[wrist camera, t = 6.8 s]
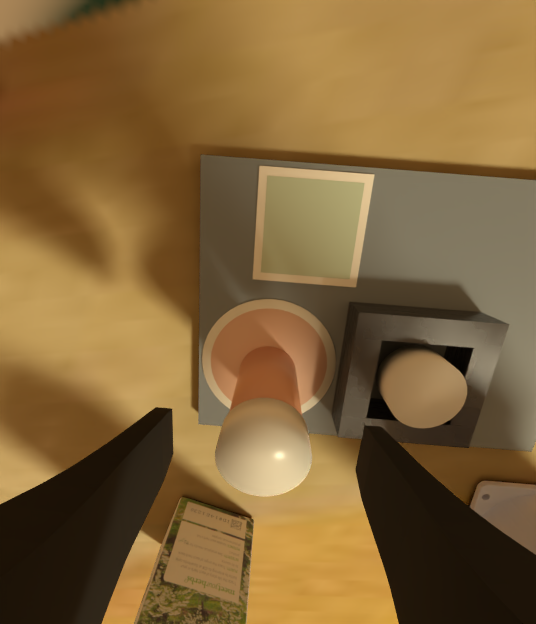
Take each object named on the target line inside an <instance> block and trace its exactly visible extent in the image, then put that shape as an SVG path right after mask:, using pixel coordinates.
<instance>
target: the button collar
mask: <svg viewBox="0 0 536 624" xmlns="http://www.w3.org/2000/svg"><path fill="white" fill-rule="evenodd" d="M509 325H510V324H507V323H505V322H503V321H501V320H498V319H496V318H494V317H491V316H489V315H487V314H484V313H482V312H474V311H462V310H449V309H437V308H424V307H412V306H399V305H387V304H374V303H362V302H349V306H348V313H347V319H346V325H345V331H344V338H343V344H342V350H341V356H340V363H339V369H338V375H337V381H336V388H335V394H334V400H333V406H332V413H331V415H332V418H333V422H334V425H335V429H336V432H337V436H338V437H343V438H355V439H362V435H363V430H364V425H367V426H379V427H382V428H383V429H384V430H385V431H386V432H387V433H388V434H389V435H390V436H391V437H392V438H394V439H395V440H396V441H397V442H403V443H415V444H427V445H440V446H452V447H464V448H469V446H470V442H471V439H472V436H473V433H474V430H475V427H476V424H477V421H478V418H479V415H480V412H481V409H482V406H483V403H484V400H485V397H486V394H487V391H488V388H489V385H490V382H491V379H492V376H493V373H494V370H495V367H496V364H497V361H498V358H499V355H500V352H501V349H502V346H503V343H504V340H505V337H506V334H507V331H508V328H509ZM382 340H383V341H395V342H407V343H420V344H432V345H445V346H447V347H446V351H445V355H444V359H445V360H447V361H448V362H449V363H450V364H452V365H453V366H454V367H455V368H457V369H458V370H459V371H460V372H461V373H462V375H463V376H464V378H465V380H466V384H467V397H466V400H465V403H464V405H463V407H462V408H461V410H460V411H459V412H458V413H457V414H456V415H455V416H454V417H453V418H452V419H450V420H449V421H447V422H445V423H444V424H441V425H439V426H435V427H431V428H414V427H410V426H407V425H405V424H403V423H401V422H400V421H399V420H398V419H397V418H396V417H395V416H394V415H393V414H392V412H391V410H390V409H389V407H388V405H387V404H386V402H385V400H384V399H376V398H370V397H371V392H372V387H373V383H374V378H375V373H376V368H377V363H378V358H379V353H380V348H381V343H382Z"/></svg>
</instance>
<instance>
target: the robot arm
mask: <svg viewBox="0 0 536 624" xmlns="http://www.w3.org/2000/svg"><path fill="white" fill-rule="evenodd" d="M172 455H173V425H172V409H169V408H157V407H156V408H155V409H153V410H152V411H150V412H149V413H148V414H146V415H145V416H144V417H142V418H141V419H140V420H138V421H137V422H136V423H134V424H133V425H132V426H130V427H129V428H128V429H126V430H125V431H124V432H122V433H121V434H119V435H118V436H117V437H115V438H114V439H113V440H111V441H110V442H108V443H107V444H105V445H104V446H102V447H101V448H99V449H98V450H96V451H95V452H93V453H92V454H90V455H89V456H87V457H86V458H84V459H83V460H81V461H80V462H78V463H77V464H75V465H73V466H72V467H70V468H68V469H67V470H65V471H63V472H61V473H60V474H58V475H56V476H54V477H53V478H51V479H49V480H47V481H46V482H44V483H42V484H40V485H38V486H36V487H34V488H32V489H30V490H28V491H26V492H24V493H22V494H20V495H18V496H16V497H14V498H12V499H10V500H8V501H6V502H4V503H2V504H0V624H101V623H102V621H103V618H104V615H105V612H106V610H107V607H108V604H109V602H110V599H111V597H112V594H113V591H114V589H115V586H116V584H117V581H118V579H119V576H120V573H121V571H122V568H123V566H124V563H125V561H126V559H127V556H128V554H129V552H130V550H131V547H132V545H133V543H134V541H135V539H136V537H137V535H138V533H139V531H140V529H141V527H142V525H143V523H144V521H145V519H146V517H147V515H148V512H149V510H150V508H151V506H152V504H153V502H154V500H155V498H156V496H157V494H158V492H159V490H160V488H161V485H162V483H163V481H164V478H165V476H166V473H167V470H168V467H169V464H170V461H171V458H172ZM356 474H357V479H358V484H359V489H360V494H361V498H362V502H363V505H364V508H365V511H366V514H367V517H368V520H369V523H370V526H371V529H372V532H373V535H374V538H375V541H376V544H377V547H378V550H379V553H380V556H381V559H382V562H383V565H384V568H385V572H386V575H387V578H388V582H389V585H390V589H391V593H392V597H393V601H394V605H395V609H396V613H397V618H398V622H399V624H536V485H532V484H520V483H508V482H496V481H482V482H480V483H479V484H478V485H477V488H476V491H475V493H474V496H473V499H472V502H471V505H470V507H469V506H467V505H466V504H465V503H464V502H462V501H461V500H460V499H459V498H458V497H456V496H455V495H454V494H453V493H452V492H451V491H449V490H448V489H447V488H446V487H445V486H444V485H442V484H441V483H440V482H439V481H438V480H437V479H436V478H434V477H433V476H432V475H431V474H430V473H429V472H428V471H427V470H426V469H425V468H424V467H422V466H421V465H420V464H419V463H418V462H417V461H416V460H415V459H414V458H413V457H412V456H411V455H410V454H409V453H408V452H407V451H406V450H405V449H404V448H403V447H402V446H401V445H400V444H399V443H398V442H397V441H396V440H395V439H394V438H392V437H391V436H390V435H389V434H388V433H387V432H386V431H385V430H384V429H383V428H382V427H379V426H367V425H364V430H363V435H362V440H361V445H360V450H359V455H358V460H357V465H356Z"/></svg>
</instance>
